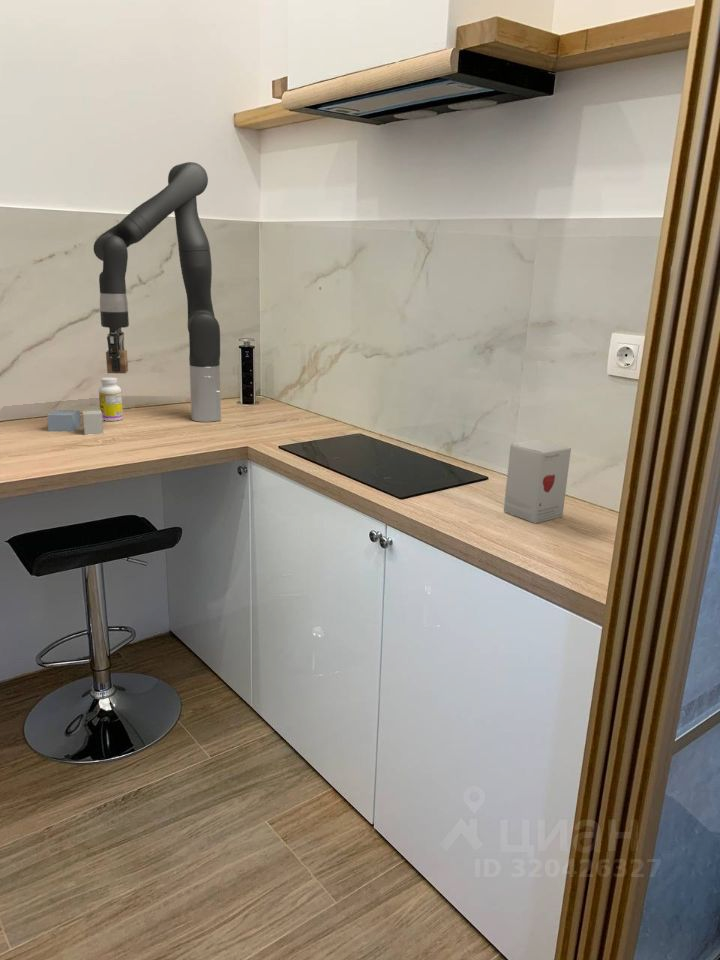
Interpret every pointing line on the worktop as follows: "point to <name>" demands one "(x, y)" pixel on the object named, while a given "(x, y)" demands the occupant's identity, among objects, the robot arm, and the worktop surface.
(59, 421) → the base block
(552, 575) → the worktop surface
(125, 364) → the walnut block
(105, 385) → the supplement bottle
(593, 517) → the worktop surface
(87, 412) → the grey block
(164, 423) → the worktop surface
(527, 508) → the supplement box
